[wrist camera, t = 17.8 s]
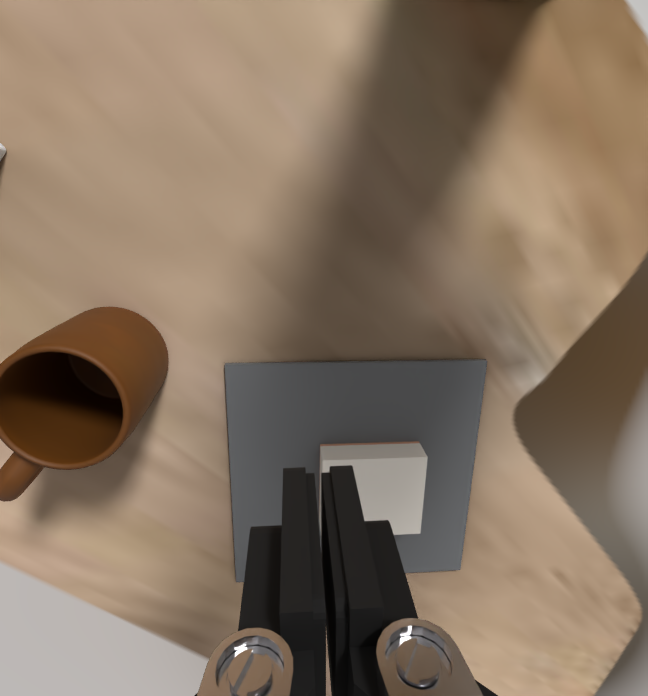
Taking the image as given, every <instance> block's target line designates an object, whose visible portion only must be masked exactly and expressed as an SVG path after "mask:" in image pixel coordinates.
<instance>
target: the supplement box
mask: <svg viewBox="0 0 648 696" xmlns="http://www.w3.org/2000/svg"><path fill="white" fill-rule="evenodd" d="M5 153H6V148H5V147H4V146H3V145H2V144H1V143H0V161H1V159H2V158H3V156H4V155H5Z"/></svg>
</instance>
